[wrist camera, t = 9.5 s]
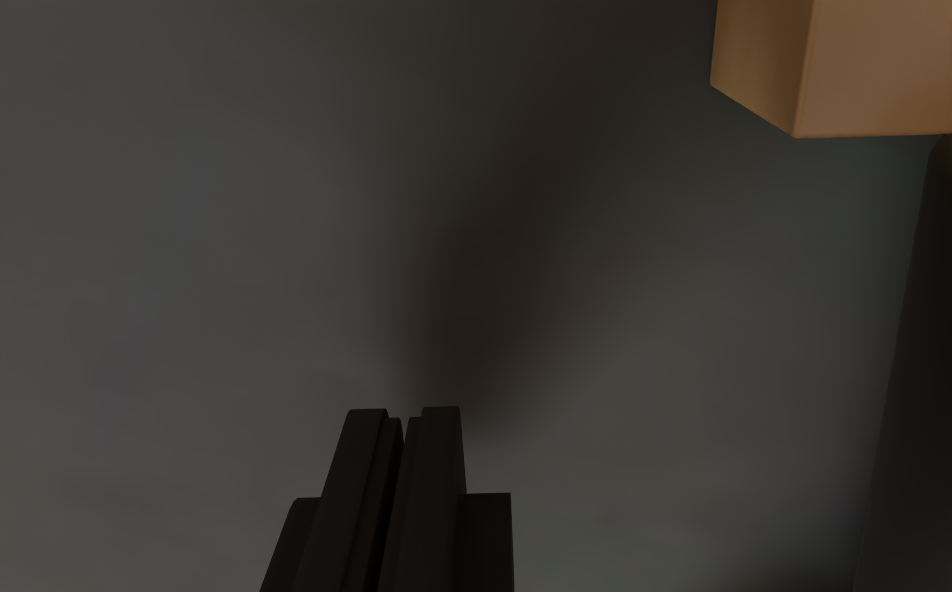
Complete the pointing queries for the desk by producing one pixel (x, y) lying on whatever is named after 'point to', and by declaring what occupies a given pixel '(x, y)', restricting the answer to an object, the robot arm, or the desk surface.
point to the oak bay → (838, 65)
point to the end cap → (917, 416)
